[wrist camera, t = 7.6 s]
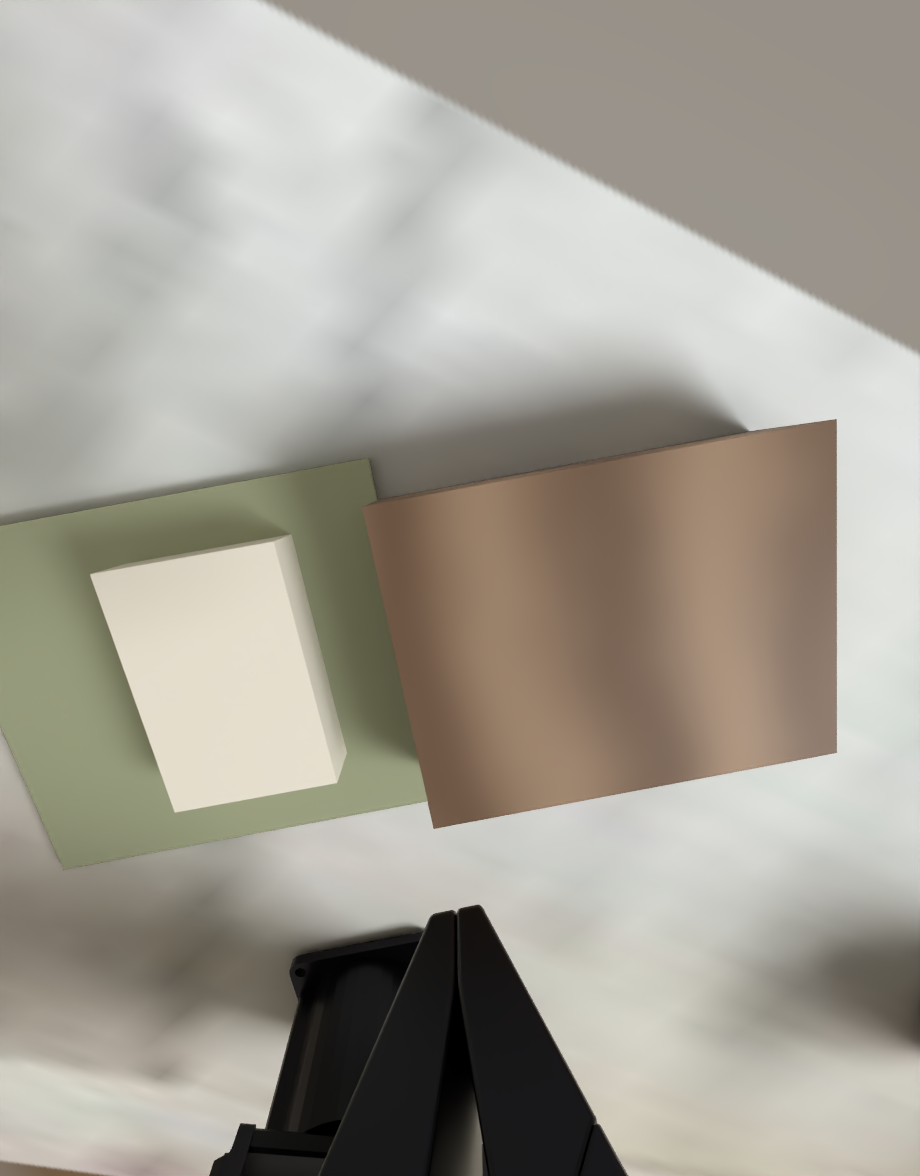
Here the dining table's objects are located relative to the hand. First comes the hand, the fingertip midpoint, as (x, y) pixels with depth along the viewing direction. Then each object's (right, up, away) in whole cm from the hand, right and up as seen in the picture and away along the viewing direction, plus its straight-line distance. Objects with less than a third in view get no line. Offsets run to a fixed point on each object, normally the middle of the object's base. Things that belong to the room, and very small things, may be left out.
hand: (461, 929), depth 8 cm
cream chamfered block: (-8, +2, +9) cm, 12 cm away
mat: (-10, +2, +11) cm, 15 cm away
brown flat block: (+5, +5, +11) cm, 13 cm away
